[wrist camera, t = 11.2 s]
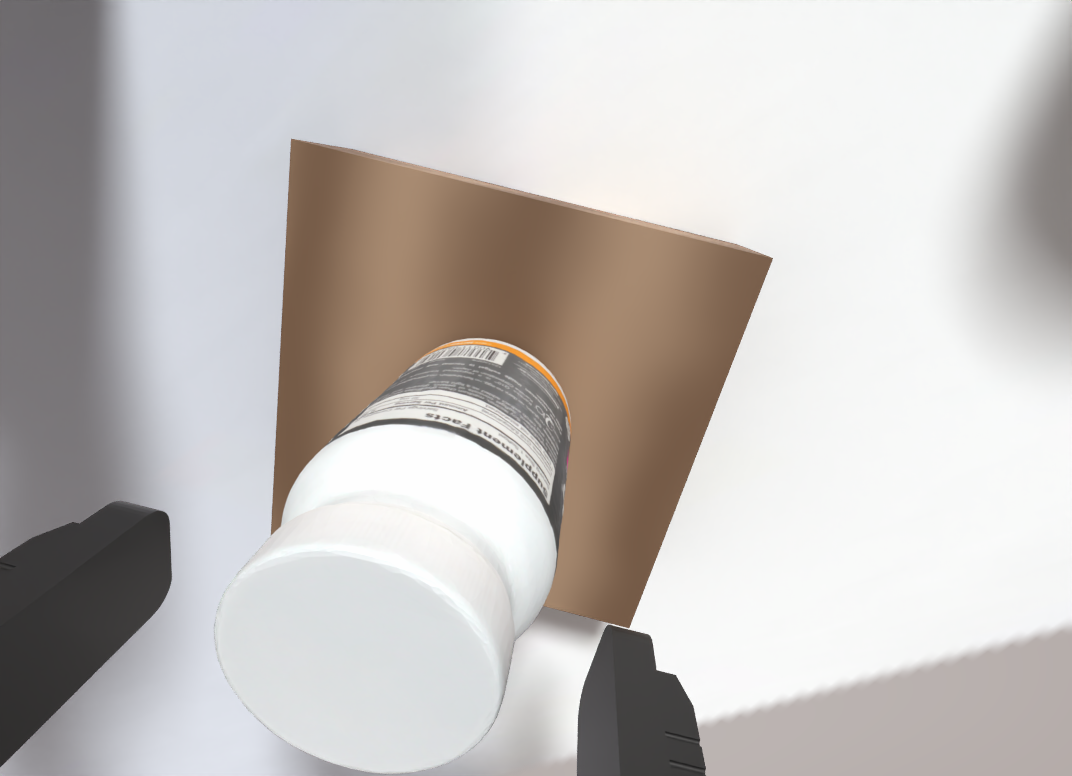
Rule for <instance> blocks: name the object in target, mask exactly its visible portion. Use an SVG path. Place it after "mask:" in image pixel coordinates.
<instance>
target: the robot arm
mask: <svg viewBox="0 0 1072 776" xmlns="http://www.w3.org/2000/svg"><path fill="white" fill-rule="evenodd" d="M171 579H172V571H171V546H170V522H169V517H168V515H167V514H166V513H165V512H163V511H160V510H156V509H152V508H148V507H144V506H140V505H136V504H132V503H128V502H124V501H116V502H113V503H110V504H109V505H107V506H105V507H104V508H102V509H101V510H99V511H98V512H96V513H95V514H93V515H92V516H90V517H89V518H87V519H86V520H84V521H83V522H81V523H80V524H78V523H74V522H72V523H69V524H67V525H64V526H62V527H59V528H56V529H54V530H51V531H49V532H46V533H44V534H41V535H38V536H36V537H33V538H31V539H29V540H28V541H26V542H25V543H23V544H22V545H20V546H18V547H17V548H15V549H14V550H12V551H11V552H9V553H7V554H6V555H4V556H3V557H1V558H0V767H1V766H2V765H3V764H4V763H5V762H6V761H7V760H8V759H9V758H10V757H11V756H12V755H13V754H14V753H15V752H16V751H17V750H18V749H19V748H20V747H21V746H22V745H23V744H24V743H25V742H26V741H27V740H28V739H29V738H30V737H31V736H32V735H33V734H34V733H35V732H36V731H37V730H38V729H39V728H40V727H41V726H42V725H43V724H44V723H45V722H46V721H47V720H48V719H49V718H50V717H51V716H52V715H53V714H54V713H55V712H56V711H57V710H58V709H59V708H60V707H61V706H62V705H63V704H64V703H65V702H66V701H67V700H68V699H69V698H70V697H71V696H72V695H73V694H74V693H75V692H76V691H77V690H78V689H79V688H80V687H81V686H82V685H83V684H84V683H85V682H86V681H87V680H88V679H89V678H90V677H91V676H92V675H93V674H94V673H95V672H96V671H97V670H98V669H99V668H100V667H101V666H102V665H103V664H104V663H105V662H106V661H107V660H108V659H109V658H110V657H111V656H112V655H113V654H114V653H115V652H116V651H117V650H118V649H119V648H120V647H121V646H122V645H123V644H124V643H125V642H126V641H127V640H128V639H129V638H130V637H131V636H132V635H133V634H135V633H136V632H137V631H138V630H139V629H140V628H141V627H142V626H143V625H144V624H145V623H146V622H147V621H148V620H149V619H150V618H151V617H152V616H153V614H154V613H155V612H156V611H157V610H158V608H159V607H160V606H161V604H162V603H163V601H164V599H165V597H166V595H167V593H168V591H169V588H170V584H171ZM699 742H700V738H699V732H698V727H697V722H696V717H695V712H694V708H693V705H692V703H691V701H690V700H689V698H688V696H687V694H686V693H685V691H684V689H683V687H682V685H681V684H680V682H679V680H678V678H677V677H676V675H673V674H669V673H665V672H661V671H657V670H656V663H655V656H654V649H653V643H652V639H651V637H650V635H648V634H644V633H640V632H636V631H632V630H628V629H624V628H620V627H616V626H612V625H607V626H606V628H605V630H604V632H603V635H602V637H601V640H600V643H599V645H598V648H597V651H596V653H595V656H594V659H593V661H592V664H591V667H590V669H589V672H588V675H587V677H586V680H585V683H584V686H583V690H582V694H581V699H580V706H579V714H578V744H577V776H706V775H705V769H706V767H705V762H704V757H703V753H702V747H700V745H699Z"/></svg>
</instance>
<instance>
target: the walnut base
mask: <svg viewBox="0 0 1072 776" xmlns="http://www.w3.org/2000/svg"><path fill="white" fill-rule="evenodd" d="M772 259H773V258H771V257H769V256H766V255H763V254H761V253H758V252H755V251H753V250H750V249H748V248H745V247H742V246H740V245H737V244H733V243H729V242H725V241H721V240H717V239H713V238H709V237H705V236H701V235H697V234H693V233H689V232H685V231H680V230H676V229H672V228H668V227H664V226H660V225H656V224H652V223H648V222H644V221H640V220H636V219H632V218H628V217H624V216H620V215H616V214H612V213H608V212H604V211H600V210H596V209H592V208H588V207H584V206H579V205H575V204H571V203H567V202H563V201H559V200H555V199H551V198H547V197H543V196H539V195H535V194H531V193H527V192H523V191H519V190H515V189H511V188H507V187H503V186H499V185H495V184H491V183H487V182H482V181H478V180H474V179H470V178H466V177H462V176H458V175H454V174H450V173H446V172H442V171H438V170H434V169H430V168H426V167H422V166H418V165H414V164H410V163H406V162H402V161H398V160H394V159H390V158H386V157H381V156H377V155H373V154H369V153H365V152H361V151H357V150H353V149H348V148H342V147H336V146H330V145H324V144H319V143H313V142H307V141H301V140H295V139H291V152H290V171H289V191H288V210H287V230H286V250H285V269H284V289H283V308H282V328H281V348H280V367H279V387H278V406H277V426H276V446H275V465H274V485H273V504H272V524H271V535H272V534H273V533H274V532H275V531H276V530H277V529H278V528H280V527H281V522H282V516H283V511H284V507H285V504H286V501H287V498H288V495H289V493H290V490H291V488H292V486H293V485H294V483H295V481H296V479H297V478H298V476H299V474H300V473H301V472H302V470H303V469H304V468H305V466H306V465H307V464H308V463H309V462H310V461H311V460H312V459H313V458H314V456H315V455H316V454H317V453H318V452H319V451H321V450H322V449H323V448H324V447H325V446H326V444H328V443H329V442H330V441H331V439H332V438H333V437H334V436H335V435H336V434H337V433H338V432H339V431H340V430H342V429H343V428H344V427H345V426H346V425H347V424H348V423H350V422H351V421H352V420H353V419H354V418H355V417H356V416H357V415H358V414H360V413H361V412H362V410H364V409H365V408H366V407H367V406H368V405H369V404H370V403H371V402H373V401H374V400H375V399H376V398H377V397H379V396H380V395H381V394H382V393H383V392H384V391H385V390H386V389H387V388H388V387H390V386H391V385H392V384H393V383H394V382H395V381H396V380H397V379H398V378H399V377H400V376H401V375H402V374H403V373H404V372H405V371H406V370H407V369H408V368H409V367H410V366H412V365H413V364H414V363H415V362H416V361H417V360H419V359H420V358H421V357H423V356H424V355H426V354H427V353H429V352H430V351H432V350H434V349H435V348H437V347H439V346H441V345H444V344H446V343H449V342H453V341H456V340H462V339H469V338H482V339H493V340H498V341H502V342H506V343H508V344H511V345H514V346H516V347H518V348H520V349H522V350H524V351H526V352H528V353H529V354H531V355H532V356H534V357H535V358H536V359H538V360H539V361H540V362H541V363H542V364H544V366H545V367H546V368H547V369H548V370H549V371H550V372H551V373H552V375H553V376H554V377H555V379H556V380H557V382H558V383H559V385H560V386H561V388H562V390H563V393H564V395H565V397H566V400H567V403H568V407H569V411H570V418H571V443H570V452H569V460H568V469H567V480H566V489H565V496H564V512H563V517H562V523H561V530H560V538H559V549H558V558H557V567H556V572H555V576H554V579H553V583H552V586H551V589H550V591H549V594H548V596H547V599H546V601H545V603H544V605H543V606H545V607H549V608H553V609H557V610H561V611H565V612H569V613H572V614H576V615H580V616H584V617H588V618H592V619H596V620H599V621H603V622H607V623H611V624H615V625H619V626H623V627H627V628H629V627H630V625H631V622H632V619H633V617H634V614H635V612H636V609H637V607H638V604H639V601H640V599H641V596H642V594H643V591H644V589H645V586H646V583H647V581H648V578H649V576H650V573H651V571H652V568H653V565H654V563H655V560H656V558H657V555H658V553H659V550H660V547H661V545H662V542H663V540H664V537H665V535H666V532H667V529H668V527H669V524H670V522H671V519H672V517H673V514H674V511H675V509H676V506H677V504H678V501H679V499H680V496H681V493H682V491H683V488H684V486H685V483H686V481H687V478H688V475H689V473H690V470H691V468H692V465H693V463H694V460H695V457H696V455H697V452H698V450H699V447H700V445H701V442H702V439H703V437H704V434H705V432H706V429H707V427H708V424H709V421H710V419H711V416H712V414H713V411H714V409H715V406H716V403H717V401H718V398H719V396H720V393H721V391H722V388H723V385H724V383H725V380H726V378H727V375H728V373H729V370H730V367H731V365H732V362H733V360H734V357H735V355H736V352H737V349H738V347H739V344H740V342H741V339H742V337H743V334H744V331H745V329H746V326H747V324H748V321H749V319H750V316H751V313H752V311H753V308H754V306H755V303H756V301H757V298H758V295H759V293H760V290H761V288H762V285H763V283H764V280H765V277H766V275H767V272H768V270H769V267H770V265H771V262H772Z"/></svg>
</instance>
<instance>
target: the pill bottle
mask: <svg viewBox="0 0 1072 776" xmlns="http://www.w3.org/2000/svg"><path fill="white" fill-rule="evenodd" d="M570 443H571V418H570V411H569V407H568V403H567V400H566V397H565V395H564V393H563V390H562V388H561V386H560V385H559V383H558V382H557V380H556V379H555V377H554V376H553V375H552V373H551V372H550V371H549V370H548V369H547V368H546V367H545V366H544V364H542V363H541V362H540V361H539V360H538V359H536V358H535V357H534V356H532V355H531V354H529V353H528V352H526V351H524V350H522V349H520V348H518V347H516V346H514V345H511V344H508V343H506V342H502V341H498V340H493V339H482V338H469V339H462V340H456V341H453V342H449V343H446V344H444V345H441V346H439V347H437V348H435V349H434V350H432V351H430V352H429V353H427V354H426V355H424V356H423V357H421V358H420V359H419V360H417V361H416V362H415V363H414V364H413V365H412V366H410V367H409V368H408V369H407V370H406V371H405V372H404V373H403V374H402V375H401V376H400V377H399V378H398V379H397V380H396V381H395V382H394V383H393V384H392V385H391V386H390V387H388V388H387V389H386V390H385V391H384V392H383V393H382V394H381V395H380V396H379V397H377V398H376V399H375V400H374V401H373V402H371V403H370V404H369V405H368V406H367V407H366V408H365V409H364V410H362V412H361V413H360V414H358V415H357V416H356V417H355V418H354V419H353V420H352V421H351V422H350V423H348V424H347V425H346V426H345V427H344V428H343V429H342V430H340V431H339V432H338V433H337V434H336V435H335V436H334V437H333V438H332V439H331V441H330V442H329V443H328V444H326V446H325V447H324V448H323V449H322V450H321V451H319V452H318V453H317V454H316V455H315V456H314V458H313V459H312V460H311V461H310V462H309V463H308V464H307V465H306V466H305V468H304V469H303V470H302V472H301V473H300V474H299V476H298V478H297V479H296V481H295V483H294V485H293V486H292V488H291V490H290V493H289V495H288V498H287V501H286V504H285V507H284V511H283V516H282V522H281V527H280V528H278V529H277V530H276V531H275V532H274V533H273V534H272V535H271V536H270V538H269V539H268V540H267V541H266V542H265V543H264V544H263V546H262V547H261V548H260V549H259V550H258V551H257V552H256V553H255V555H254V556H253V557H252V558H251V559H250V560H249V561H248V562H247V563H246V565H245V566H244V567H243V568H242V569H241V570H240V571H239V572H238V573H237V575H236V576H235V578H234V579H233V580H232V582H231V583H230V584H229V586H228V587H227V589H226V590H225V592H224V594H223V596H222V598H221V601H220V603H219V606H218V609H217V615H216V619H215V624H214V639H215V646H216V652H217V658H218V661H219V663H220V666H221V668H222V670H223V673H224V675H225V678H226V680H227V681H228V683H229V685H230V687H231V688H232V690H233V691H234V692H235V694H236V695H237V697H238V698H239V699H240V700H241V702H242V703H243V704H244V706H245V707H246V708H247V710H248V711H249V712H250V713H252V714H253V715H254V717H256V718H257V719H258V720H259V721H260V722H261V723H262V724H263V725H264V726H266V727H267V728H268V729H269V730H270V731H271V732H272V733H274V734H275V735H277V736H278V737H280V738H281V739H283V740H284V741H286V742H287V743H289V744H290V745H292V746H294V747H296V748H298V749H300V750H301V751H303V752H305V753H308V754H310V755H312V756H315V757H317V758H319V759H322V760H324V761H327V762H330V763H333V764H336V765H340V766H343V767H347V768H350V769H355V770H361V771H365V772H370V773H381V774H398V773H411V772H417V771H423V770H428V769H433V768H436V767H439V766H442V765H444V764H447V763H449V762H451V761H453V760H455V759H457V758H459V757H460V756H462V755H464V754H465V753H467V752H468V751H469V750H471V749H472V748H474V747H475V746H476V745H477V744H478V743H479V742H480V741H481V740H482V739H483V737H484V736H485V735H486V734H487V732H488V731H489V730H490V728H491V727H492V725H493V723H494V721H495V719H496V718H497V715H498V712H499V710H500V707H501V704H502V700H503V697H504V693H505V688H506V684H507V679H508V674H509V669H510V664H511V659H512V653H513V647H514V641H515V640H516V639H517V638H519V637H520V636H521V635H522V634H523V633H524V632H525V631H526V630H527V629H528V628H529V626H530V625H531V624H532V622H533V621H534V620H535V619H536V617H537V615H538V614H539V612H540V610H541V609H542V607H543V605H544V603H545V601H546V599H547V596H548V594H549V591H550V589H551V586H552V583H553V579H554V576H555V572H556V567H557V558H558V549H559V538H560V530H561V523H562V517H563V512H564V496H565V489H566V480H567V469H568V460H569V452H570Z"/></svg>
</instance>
